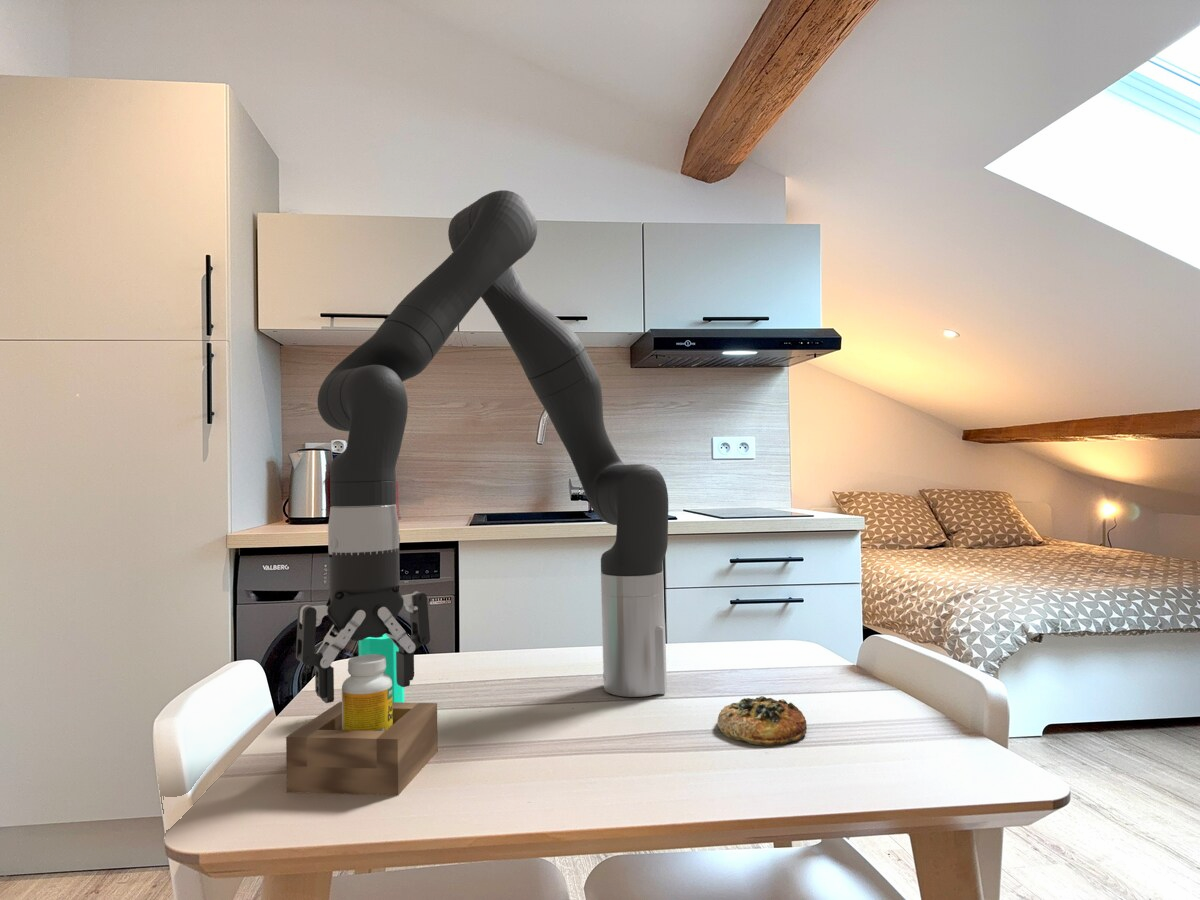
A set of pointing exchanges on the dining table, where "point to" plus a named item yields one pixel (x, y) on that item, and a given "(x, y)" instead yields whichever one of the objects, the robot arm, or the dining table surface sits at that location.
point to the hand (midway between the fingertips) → (366, 693)
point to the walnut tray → (361, 752)
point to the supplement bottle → (367, 695)
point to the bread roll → (762, 721)
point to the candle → (389, 651)
